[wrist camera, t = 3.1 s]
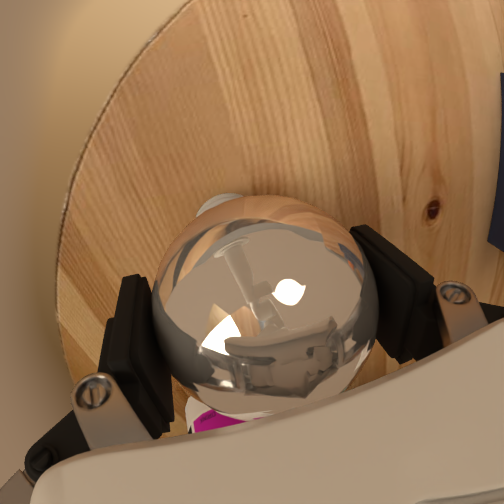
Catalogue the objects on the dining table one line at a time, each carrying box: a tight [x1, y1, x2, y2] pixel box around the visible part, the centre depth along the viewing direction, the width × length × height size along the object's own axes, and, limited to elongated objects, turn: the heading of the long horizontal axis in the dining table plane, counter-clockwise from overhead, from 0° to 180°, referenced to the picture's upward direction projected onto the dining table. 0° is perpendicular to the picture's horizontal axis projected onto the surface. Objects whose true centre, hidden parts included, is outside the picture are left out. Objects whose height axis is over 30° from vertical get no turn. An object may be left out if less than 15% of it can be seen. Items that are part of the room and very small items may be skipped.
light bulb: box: [151, 193, 380, 421], centre depth 12 cm, size 7×7×12 cm
